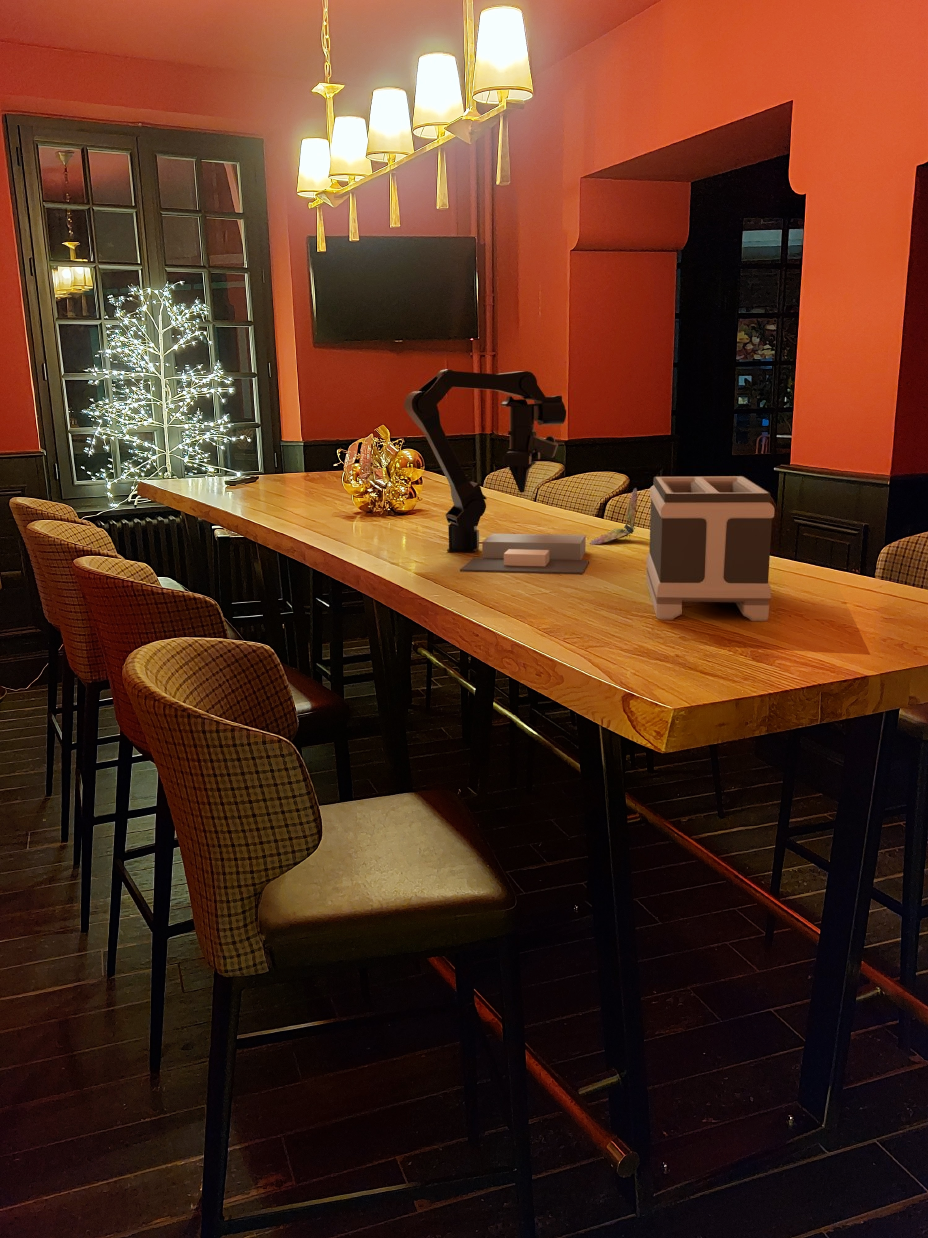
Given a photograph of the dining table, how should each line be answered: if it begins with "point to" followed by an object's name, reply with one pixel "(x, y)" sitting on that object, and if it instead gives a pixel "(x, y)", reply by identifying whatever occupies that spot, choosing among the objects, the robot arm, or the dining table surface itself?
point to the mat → (552, 567)
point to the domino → (526, 557)
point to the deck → (536, 545)
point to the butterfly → (622, 533)
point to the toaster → (709, 544)
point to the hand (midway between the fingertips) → (522, 492)
